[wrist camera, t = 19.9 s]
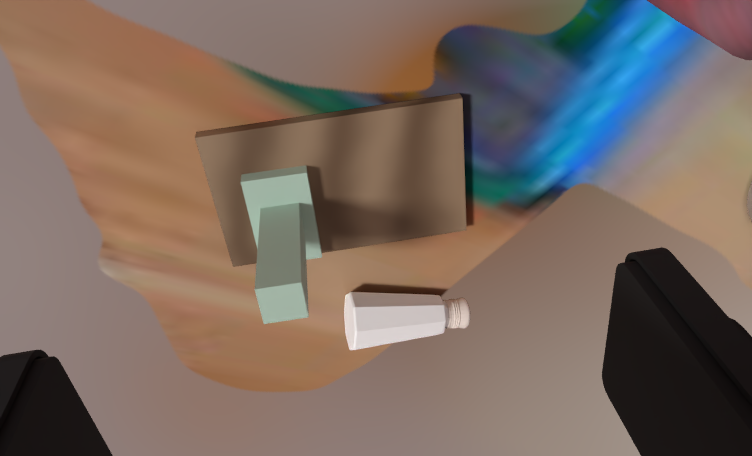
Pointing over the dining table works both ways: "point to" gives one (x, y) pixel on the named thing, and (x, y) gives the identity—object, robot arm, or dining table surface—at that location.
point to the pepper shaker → (399, 317)
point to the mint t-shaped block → (282, 239)
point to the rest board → (349, 172)
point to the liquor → (715, 21)
